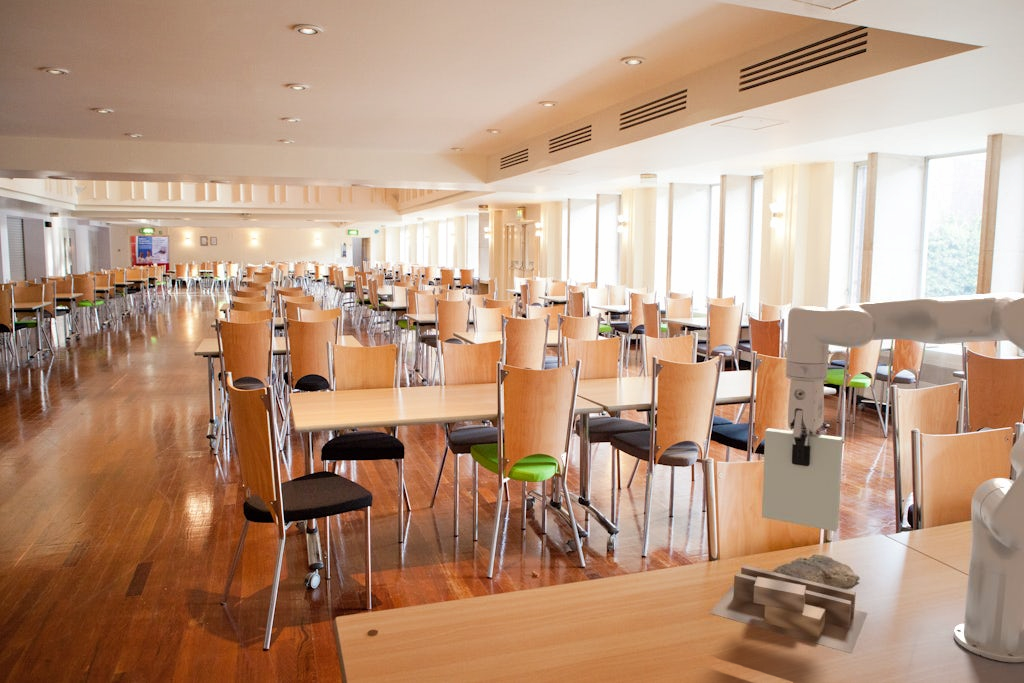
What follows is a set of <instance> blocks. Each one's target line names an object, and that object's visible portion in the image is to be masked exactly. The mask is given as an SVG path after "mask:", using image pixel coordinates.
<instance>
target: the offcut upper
mask: <svg viewBox="0 0 1024 683" xmlns="http://www.w3.org/2000/svg"><path fill="white" fill-rule="evenodd" d="M805 592H806V586H805V585H799V584H794V583H789V582H783V581H778V580H773V579H768V578H762V577H757V579H756V582H755V585H754V601H753V603H758V604H763V605H768V606H772V607H777V608H782V609H787V610H792V611H797V612H802V613H803V610H804V605H805Z"/></svg>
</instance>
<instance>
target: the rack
mask: <svg viewBox="0 0 1024 683" xmlns="http://www.w3.org/2000/svg"><path fill="white" fill-rule="evenodd" d="M757 577H762V578H768V579H773V580H778V581H783V582H789V583H794V584H799V585H805V586H806V592H805V604H808V605H812V606H816V607H820V608H824V609H826V610H825V625H824V628H823V630H822V632H821V634H820V636H819V637H816V636H812V635H809V634H805V633H801V632H798V631H794V630H791V629H787V628H783V627H780V626H776V625H773V624H769V623H766V622H764V616H765V605H763V604H758V603H753V601H754V585H755V582H756V579H757ZM733 578H734V580H733V584H732V586H730V588H729V589H728V590H727V591H726V592H725V594H724V595H723V596H722V597H721V599H720V600H719V601H718V602H717V603H716V604H715V606H714V607H713V608H712V609H711V610H710V611H709V614H711V615H714V616H718V617H720V618H721V617H722V618H724V619H727V620H732V621H736V622H738V623H739V622H740V623H742V624H747V625H749V626H753V627H755V628H756V627H757V628H760V629H763V630H767V631H771V632H775V633H778V634H782V635H785V636H789V637H792V638H796V639H799V640H802V641H806V642H810V643H814V644H817V645H820V646H823V647H826V648H830V649H834V650H837V651H841V652H844V653H848V654H852V652H853V651H854V650H853V649H854V648H855V645H856V644H857V640H858V638H859V635H860V632H861V631H862V630H861V629H862V628H863V625H864V622H865V620H866V619H867V615H868V612H865V611H861V610H857V609H855V608H856V591H853V590H848V589H846V588H837V587H833V586H829V585H825V584H821V583H817V582H812V581H808V580H804V579H800V578H796V577H792V576H787V575H783V574H779V573H775V572H772V571H769V570H766V569H762V568H759V567H758V568H757V567H754V566H750V565H745V564H743V565H742V566H741V569H740V573H739V572H736V573H735V574H734V577H733Z"/></svg>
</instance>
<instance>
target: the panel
mask: <svg viewBox="0 0 1024 683" xmlns="http://www.w3.org/2000/svg"><path fill="white" fill-rule="evenodd" d="M802 434H804V435H805V433H802ZM843 440H844V437H843V436H833V435H827V434H826V435H825V434H819V433H818V434H817V433H814V434H812V433H809V445H808V446H810V464H809V466H802V465H795V464H792V446H793V431H792V430H787V429H786V430H785V429H778V428H772V427H771V428H770V427H768V428H767V429H765V431H764V449H763V450H764V452H763V478H762V501H761V502H762V504H761V505H762V507H761V518H762V519H763V518H764V519H769V520H773V521H779V522H784V523H789V524H795V525H800V526H806V527H810V528H814V529H822V530H824V531H825V530H827V531H831V532H837V530H838V529H839V524H840V523H839V519H840V500H841V499H840V498H841V480H842V461H843V444H844V442H843Z"/></svg>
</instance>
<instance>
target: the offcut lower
mask: <svg viewBox="0 0 1024 683" xmlns="http://www.w3.org/2000/svg"><path fill="white" fill-rule="evenodd" d="M825 610H826V609H824V608H820V607H816V606H812V605H808V604H805V605H804V610H803V613H802V612H797V611H792V610H787V609H782V608H777V607H772V606H768V605H765V616H764V622H766V623H769V624H773V625H776V626H780V627H783V628H787V629H791V630H794V631H798V632H801V633H805V634H809V635H812V636H816V637H819V636H820V634H821V632H822V630H823V628H824V625H825Z"/></svg>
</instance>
